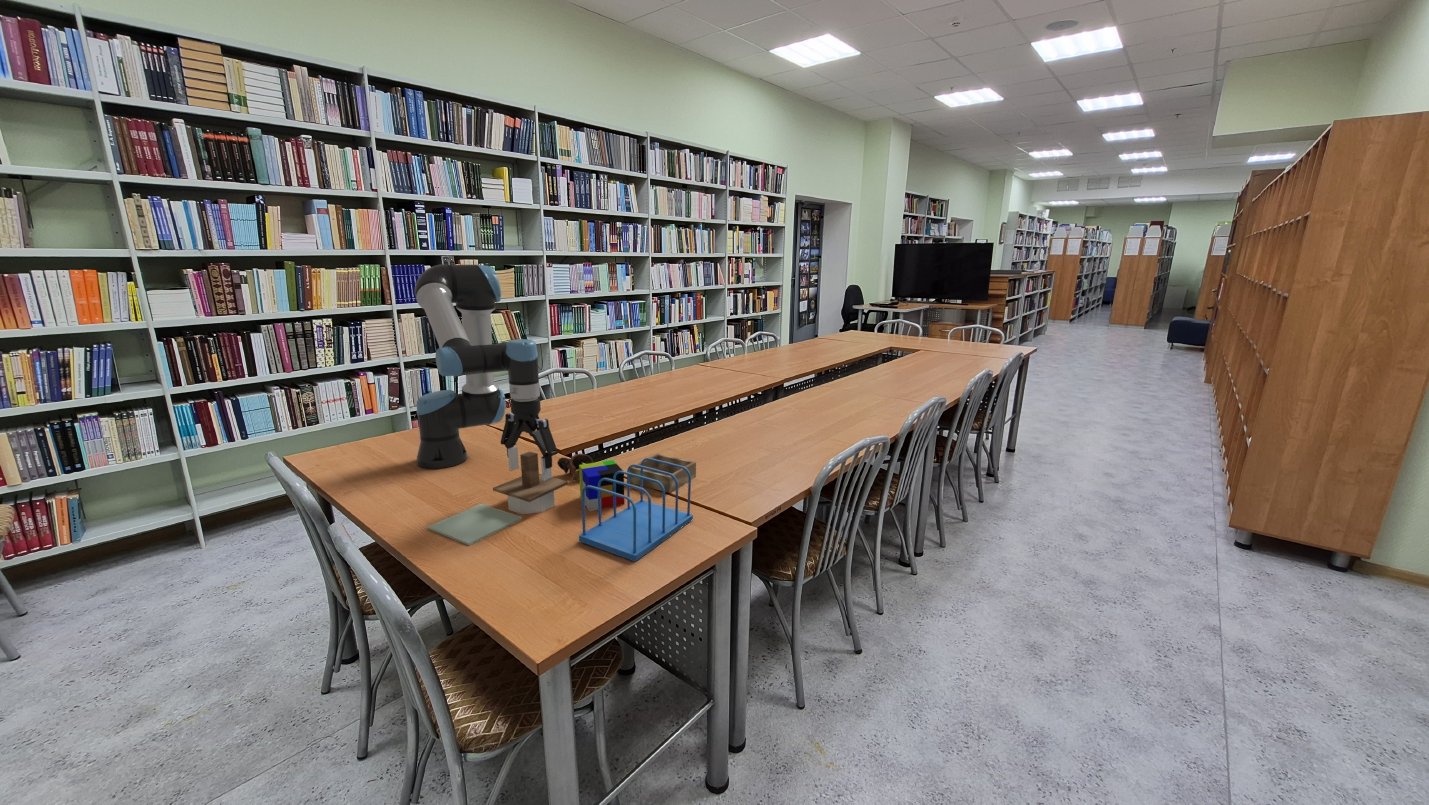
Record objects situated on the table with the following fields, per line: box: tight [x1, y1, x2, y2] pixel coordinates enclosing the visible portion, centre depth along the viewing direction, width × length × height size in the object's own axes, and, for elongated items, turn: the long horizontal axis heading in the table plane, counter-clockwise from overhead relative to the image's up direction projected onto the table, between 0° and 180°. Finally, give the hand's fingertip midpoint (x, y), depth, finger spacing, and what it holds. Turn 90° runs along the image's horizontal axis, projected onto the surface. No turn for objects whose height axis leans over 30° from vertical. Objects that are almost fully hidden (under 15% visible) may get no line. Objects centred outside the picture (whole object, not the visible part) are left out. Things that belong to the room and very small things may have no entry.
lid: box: [492, 451, 569, 502], centre depth 149 cm, size 14×14×10 cm
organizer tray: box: [629, 453, 697, 494], centre depth 170 cm, size 15×15×5 cm
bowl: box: [507, 491, 556, 515], centre depth 151 cm, size 12×12×5 cm
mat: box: [426, 503, 523, 546], centre depth 139 cm, size 16×16×1 cm
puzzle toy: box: [578, 459, 626, 512], centre depth 153 cm, size 10×10×10 cm
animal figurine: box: [557, 453, 595, 482], centre depth 171 cm, size 12×10×8 cm
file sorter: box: [578, 457, 694, 562], centre depth 136 cm, size 25×17×15 cm
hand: (530, 474), depth 149 cm, fingers open, 12 cm apart
